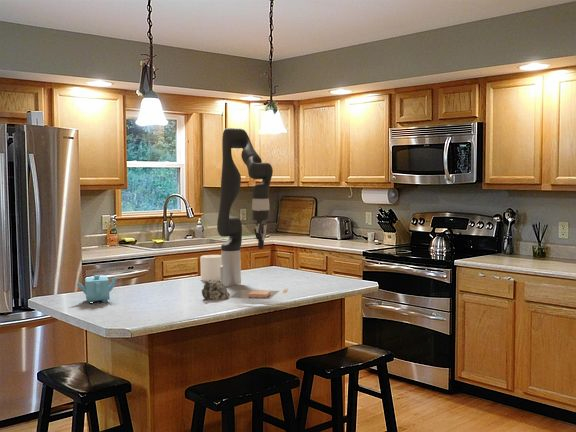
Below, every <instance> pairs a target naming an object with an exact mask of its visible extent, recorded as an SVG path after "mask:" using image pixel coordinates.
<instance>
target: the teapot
mask: <svg viewBox="0 0 576 432" xmlns="http://www.w3.org/2000/svg"><path fill="white" fill-rule="evenodd" d="M119 278H120V276H115V277H113V278H112V279H111V283H110V280H109V278H108V277H107V276H101V275H99V274H95V275H93V277H85V278H84V285H85V286H84V285H83V284H82V283H80V282H76V286H77V287H78V288H79V289H80V290H81V291H82V292H83V293H84V295H85V299H86V301H87V302H88V303H89V302H94V303H95V301H96V302H98V301H101V303H103V302H105V303H108V300H110V299H111V297H110V292H112V290H113V289H114V287H115V282H116V281H117V280H118V279H119Z"/></svg>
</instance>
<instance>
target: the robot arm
mask: <svg viewBox="0 0 576 432" xmlns="http://www.w3.org/2000/svg"><path fill="white" fill-rule="evenodd" d="M221 146H222V148H221V149H222V163H221V164H222V165H221V178H220V179H221V180H220V199H219V208H218V209H219V210H218V215H217V222H216V228H217V229H216V230H217V233H218V235H219V236H220V237H228V240H227V241H224V242H223V243H222V244H221V246H220V252H221V253H220V255H221V263H222V266H221V267H220V282H219V283H223V285H224V286H225V288H229V287H231V286H241V285H242V265H241V263H242V261H241V257H242V255H241V253H242V252H241V247H242V242H243V241H242V239H243V237H242V236H243V224H242V221H241V219H240V217H238V216H230V214H231V209H232V206H233V204H234V202H236V199H237V198H238V196H239V194H240V191H241V185H242V184H241V182H242V181H241V180H242V176H241V173H240V171H239V169H238V166H236V164H235V162H234V160H233V154H232V149H241V150H242V151H241V160H242V162H243V163H244V165H245V166H246V169H247V174H248V177H249V178H251V179H252V180H261V182H260V183H258V184H255V185H253V187H252V201H251V202H252V203H251V219H252V221H256V224H255V225H254V226H255V228H254V235H255V238H256V240H257V242H258V243H257V246H258V247H257V248H258V249H259V250H263V249H264V248H265V239H266V237H267V231H268V226H267V223H266V221H269V220H270V200H269V199H270V197H269V196H270V195H269V194H270V185H271V181H272V178H273V177H272V176H273V172H274V171H273V170H274V169H273V166H272V165H271V164H270V163H269V162H263V161H262V158H261V157H260V155H259V154H258V153H257V151H256V150H255V149H254V147H253V143H252V141H251V139H250V137H249V135H248V133H247V131H246V130H245V129H242V128H233V127H231V128H230V127H227V128H225V129H224V130H223V133H222V142H221Z"/></svg>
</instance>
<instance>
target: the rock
mask: <svg viewBox="0 0 576 432" xmlns="http://www.w3.org/2000/svg"><path fill="white" fill-rule="evenodd" d="M204 282H205V283H204V285H203V288H202V289H201V295H202V297H203V299H205V300H226V299H227V300H229V298H230V297H231V295H230V293H229V292H228V289H227V287H225V286H224V285H223V283H221V282H219V281H215V280H214V281H211V280H209V281H204Z"/></svg>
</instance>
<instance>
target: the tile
mask: <svg viewBox="0 0 576 432" xmlns="http://www.w3.org/2000/svg"><path fill="white" fill-rule="evenodd" d="M252 290H253V291H251V292H250V293H249V294H248V297H252V298H251V299H258V298H266V297H268V296H269V295H270V294H271V291H272V290H266V291H256V290H257V289H252Z"/></svg>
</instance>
